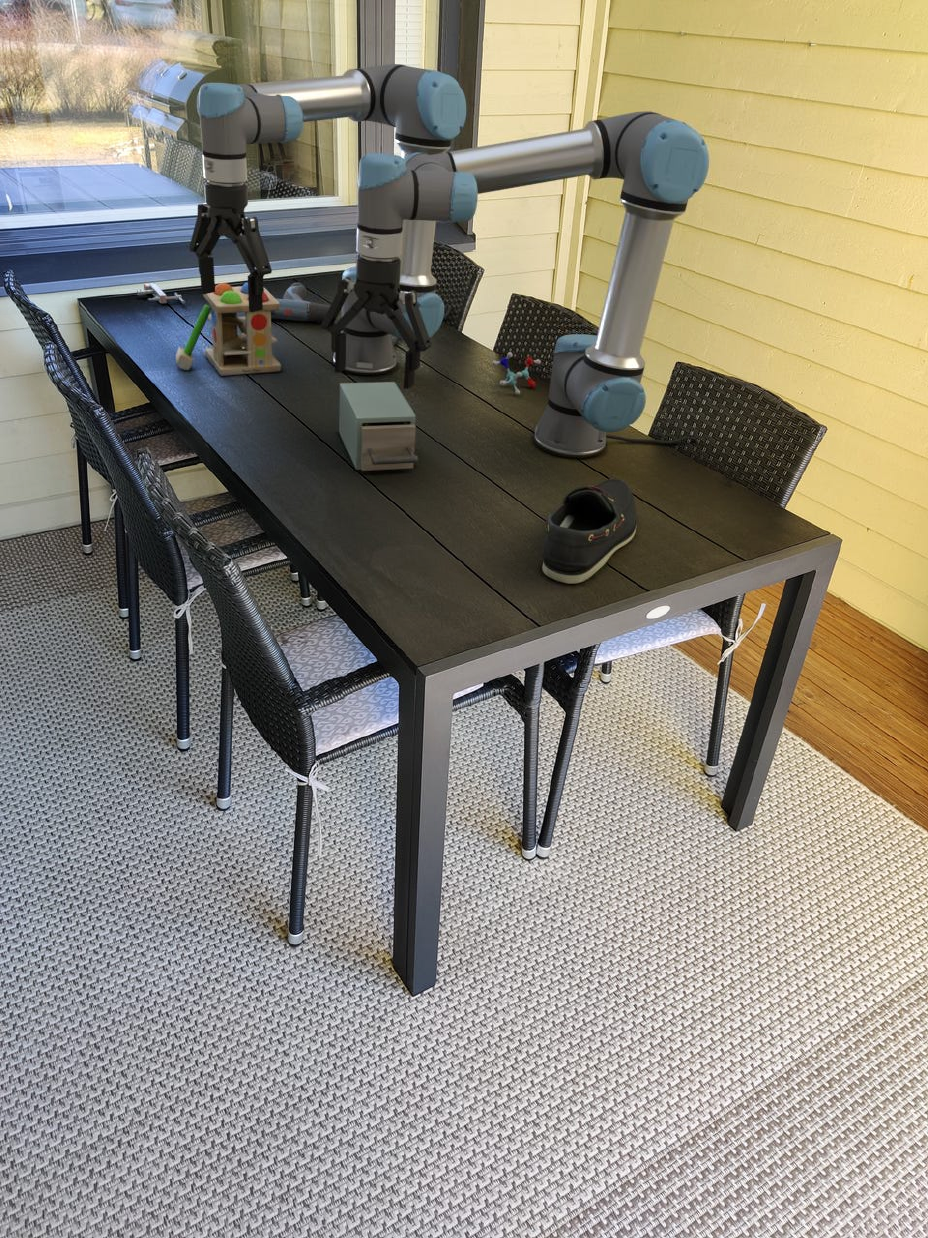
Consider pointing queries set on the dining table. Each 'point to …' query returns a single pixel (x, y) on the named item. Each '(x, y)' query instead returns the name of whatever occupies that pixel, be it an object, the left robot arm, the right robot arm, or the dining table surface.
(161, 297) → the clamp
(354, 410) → the cabinet
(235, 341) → the pounding bench toy
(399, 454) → the drawer
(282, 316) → the power drill
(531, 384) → the molecular model
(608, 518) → the boat shoe
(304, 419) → the dining table surface
